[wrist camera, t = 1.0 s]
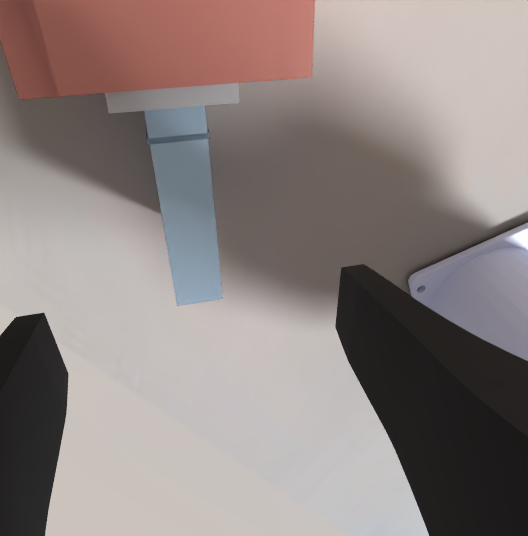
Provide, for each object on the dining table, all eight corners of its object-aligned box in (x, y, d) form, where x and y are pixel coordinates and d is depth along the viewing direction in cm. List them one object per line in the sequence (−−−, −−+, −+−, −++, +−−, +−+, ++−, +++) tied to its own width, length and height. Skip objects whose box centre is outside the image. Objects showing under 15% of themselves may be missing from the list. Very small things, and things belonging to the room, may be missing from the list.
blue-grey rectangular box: (204, 217, 20) (224, 298, 15) (166, 222, 19) (175, 306, 15) (157, -216, 12) (170, -311, 8) (94, -219, 12) (67, -318, 7)
